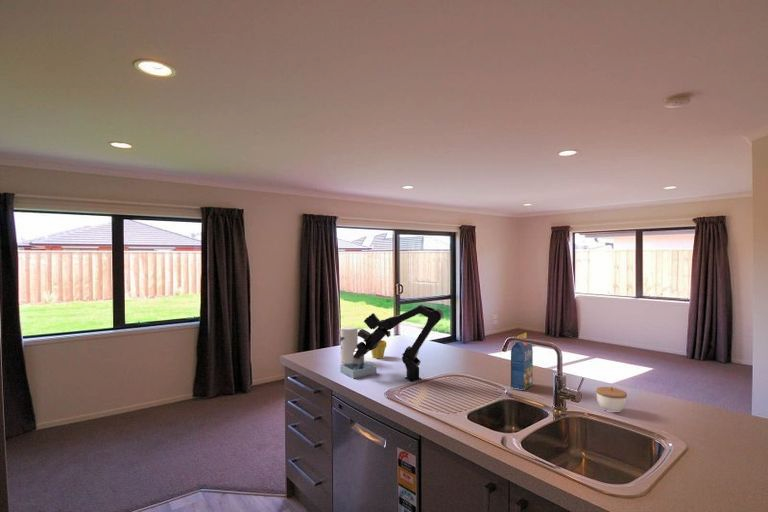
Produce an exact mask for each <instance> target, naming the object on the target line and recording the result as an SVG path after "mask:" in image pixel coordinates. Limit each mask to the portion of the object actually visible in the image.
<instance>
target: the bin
mask: <svg viewBox="0 0 768 512" xmlns="http://www.w3.org/2000/svg"><path fill="white" fill-rule="evenodd" d="M339 366H340V371H339V372H340V373H341V372H342V373H341V374H343V373H344V374H343V375H345V374H346V375H345V376H347V375H348V376H347V377H349V376H350V377H349V378H351V377H352V378H355V379H358V378H357V377H360V378H363V377H362V376H365V377H368V376H367V375H370V376H374V375H373V374H375V375H377V372H378V371H377V369H378V368H377V365H374V364H371V363H369V362H367V361H365V360H364V369H359V370H353V363H341V364H340V365H339ZM352 378H351V379H352Z"/></svg>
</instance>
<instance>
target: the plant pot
mask: <svg viewBox="0 0 768 512" xmlns="http://www.w3.org/2000/svg"><path fill="white" fill-rule="evenodd" d="M386 348H387V341H386V340H383V339H381V341H380V342H379V345H378V346H377V347H376V348H374V349H373V350H370V352H371V355H372V356H371V357H372V359H374V358H381V359H383V358H384V356H385V350H386Z"/></svg>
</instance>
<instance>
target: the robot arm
mask: <svg viewBox="0 0 768 512" xmlns="http://www.w3.org/2000/svg"><path fill="white" fill-rule="evenodd" d="M418 315H422V316H424V317H426V318H427V319H426V323H425V325H424V326H423V328H422V330H420V331H421V332H420V333H419V334H418V336H417V337H416V339H415V341H414V343H412V345H411V346H410V345H409V346H407V347H406V348H405V350H404V352H403V353H402V354H401V356H402V357H401V360H402V363H403V364H404V366H405V369H406V376H405V377H404V379H406V380H407V381H410V382H417V381H420V380H422V379H423V378H422V377H420V367H419V366H420V365H421V360H420V359H419V358H418V355H419V351H420V349H421V347H422V346H423V344H424V342H425V341H426V339H427V338H428V336H429V335H430V333H431V331H432V330H433V328H435V326H436V325H437V324H438V323H439V322H441V320H442V319H443V318H444V312H443V311H442V309H440V308H433V307H429V306H425V305H423V304H418V305H417V306H415V307H413V308H411V309H409V310H407V311H405V312H403V313H401V314H399V315H395V316H394V315H393V316H390V317H388V318H385V319H381V320H380V319H379V317H377V315H376V314H375V313H374V312H373V313H371V314H370V315H369V316H368V317H366V318H365V319H364V320H363V323H364V324H365V325H366V326H367V327H368V329H370V330H374V331H372V332H371V333H370V332H369V331H368V330H366V329H364V328H360V329H359V330H358V335H357V336H358V338H359V337H360V338H361V339H363V341H360V342H359V343H358V344H357V345H356V346H357V351H356V353H355V355H354V358H357V357H360V356H362V355H364V356H365V355H366V354H368V353H369V352H371V350H373V349H374V348H376V347H377V346H378V345H379V342H380V341H381V340H383V339H384V338H385V337H387V338H389V337H391V335H392V334H391V331H390V330H392V329H394V328H395V327H397V326H398V325H399V324H401V323H403V322H404V321H406V320H409V319H411V318H414V317H415V316H418Z"/></svg>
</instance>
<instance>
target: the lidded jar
mask: <svg viewBox="0 0 768 512" xmlns="http://www.w3.org/2000/svg"><path fill="white" fill-rule="evenodd" d="M595 392H596V400H597V401H596V402H597V403H598V405H599V406H600V407H601V408H602V410H603V409H606V410H610V411H620V412H621V411H623V410H624V408H625V407H626V404H627V396H628V394H627V392H626V391H625V390H622V389H620V388H617V387H613V386H599V387H597V388H596V389H595Z"/></svg>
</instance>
